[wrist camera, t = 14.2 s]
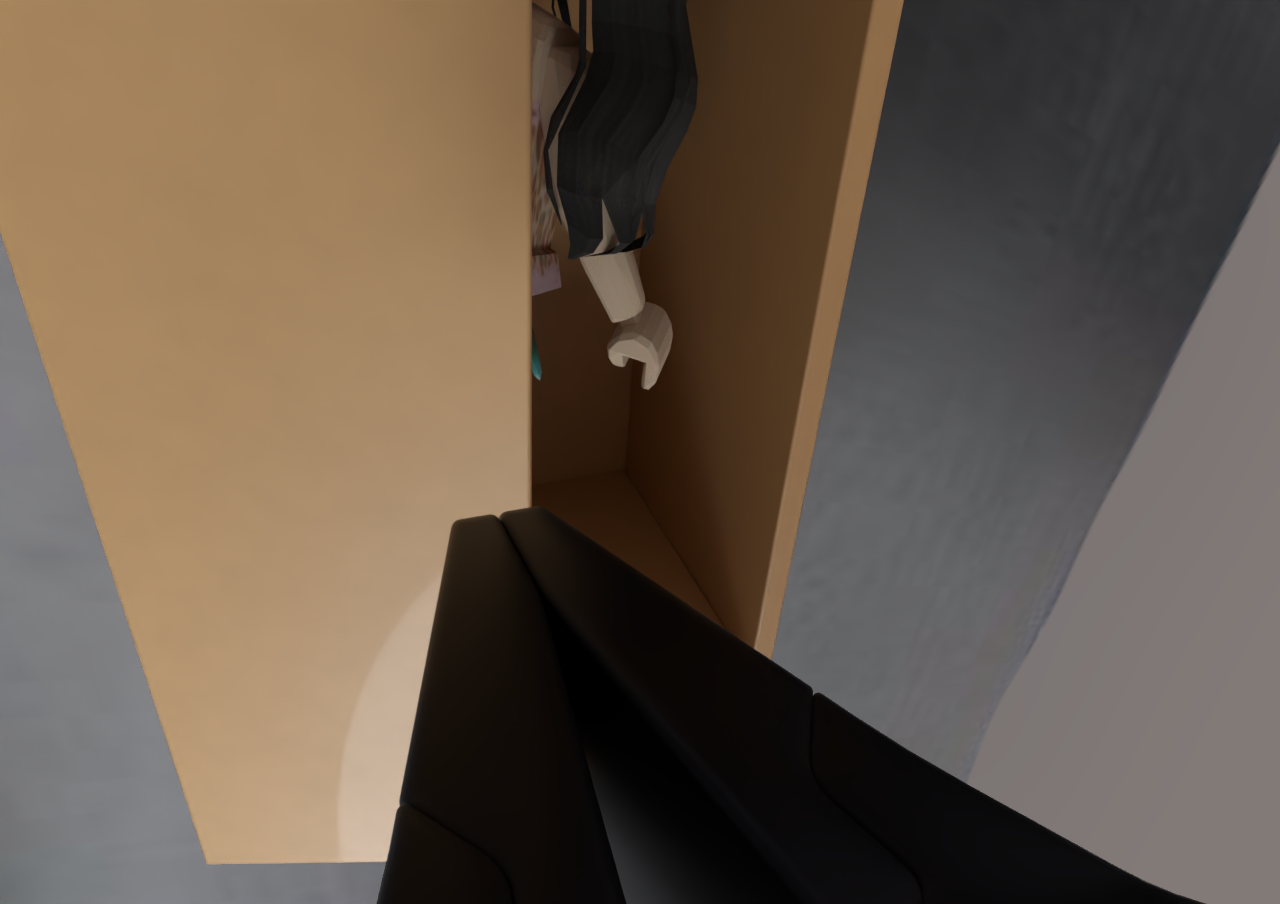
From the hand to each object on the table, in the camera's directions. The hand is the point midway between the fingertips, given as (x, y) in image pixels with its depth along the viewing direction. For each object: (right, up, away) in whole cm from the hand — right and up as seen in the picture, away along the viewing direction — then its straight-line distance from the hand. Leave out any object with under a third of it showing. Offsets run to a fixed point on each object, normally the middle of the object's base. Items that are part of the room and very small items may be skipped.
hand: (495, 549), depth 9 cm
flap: (-3, +2, +2) cm, 4 cm away
